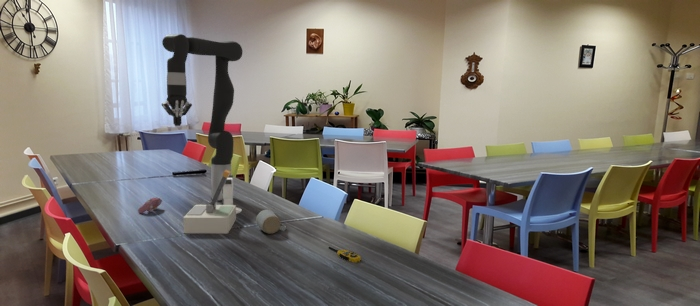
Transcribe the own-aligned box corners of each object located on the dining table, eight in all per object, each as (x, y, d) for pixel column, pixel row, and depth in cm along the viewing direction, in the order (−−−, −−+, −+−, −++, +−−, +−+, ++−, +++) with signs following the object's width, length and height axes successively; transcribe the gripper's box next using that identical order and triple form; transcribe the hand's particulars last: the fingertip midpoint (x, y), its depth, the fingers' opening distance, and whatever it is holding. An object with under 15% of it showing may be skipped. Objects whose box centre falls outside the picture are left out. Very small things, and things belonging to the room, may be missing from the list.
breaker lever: (206, 210, 167) (224, 171, 165) (209, 207, 171) (226, 169, 169) (211, 212, 167) (229, 173, 166) (213, 209, 171) (230, 171, 169)
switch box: (183, 233, 160) (183, 209, 159) (196, 218, 178) (195, 197, 177) (228, 233, 162) (228, 209, 160) (235, 219, 179) (235, 197, 178)
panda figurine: (216, 207, 196) (216, 174, 194) (242, 206, 198) (242, 174, 196) (213, 215, 184) (213, 180, 182) (241, 214, 186) (241, 180, 184)
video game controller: (145, 217, 182) (151, 203, 181) (136, 212, 183) (142, 198, 181) (159, 211, 192) (165, 198, 190) (151, 206, 192) (157, 193, 191)
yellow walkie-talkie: (352, 259, 138) (323, 245, 149) (352, 264, 138) (323, 250, 149) (363, 255, 141) (334, 242, 152) (363, 261, 141) (333, 247, 152)
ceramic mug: (262, 236, 160) (263, 215, 159) (255, 229, 167) (256, 210, 166) (289, 232, 166) (290, 213, 165) (281, 226, 173) (282, 207, 172)
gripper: (166, 83, 172) (167, 127, 175) (196, 84, 183) (196, 125, 185) (156, 83, 177) (157, 125, 179) (186, 84, 187) (186, 124, 190)
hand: (177, 125), depth 182 cm, fingers closed
